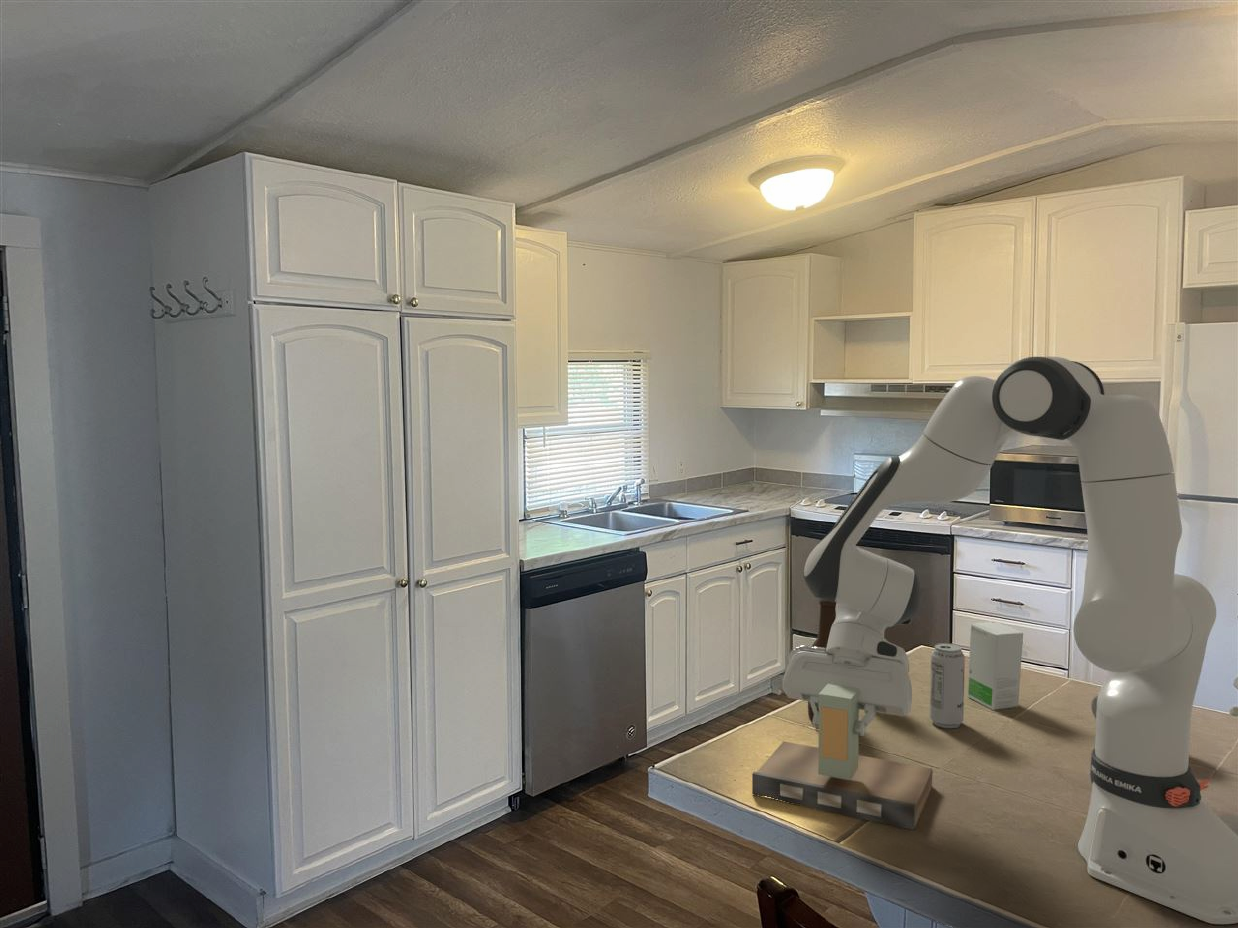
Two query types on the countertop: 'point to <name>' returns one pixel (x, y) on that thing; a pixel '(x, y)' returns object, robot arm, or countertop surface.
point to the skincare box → (995, 665)
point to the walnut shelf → (846, 786)
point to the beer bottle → (823, 632)
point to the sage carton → (838, 731)
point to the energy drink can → (947, 685)
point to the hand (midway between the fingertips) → (837, 730)
